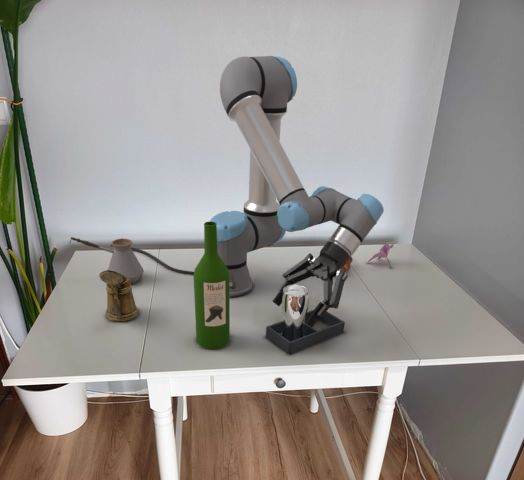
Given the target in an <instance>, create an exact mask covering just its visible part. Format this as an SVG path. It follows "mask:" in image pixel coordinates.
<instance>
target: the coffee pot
mask: <svg viewBox="0 0 524 480" xmlns="http://www.w3.org/2000/svg"><path fill="white" fill-rule="evenodd" d="M72 241H74V242H77V243H81V244H82V245H85V246H88V247H91V248H94V249H99V250H102V251H104V252H108V253H111V254H112V255H111V258H110V261H109V265H108V268H107V270H110V271H115V272H117V273H120V274H121V275H124V276H127V277H128V278H129V281H130V282H131V284H134V283H136V282H138V281H139V279H140V278H141V277H142V276H143V273H144V268H143V266H142V265H141V263H140V261H139V260H138V258H137V256H136V254H135V253H134V250H132V249H131V247H132V245H133V241H132V240H131V239H129V238H123V237H122V238H117V239H114V240H112V241H111V243H110V246H111V245H112V246H111V247H112V248H113V249H111V248H107V247H103V246H101V245H98V244H96V243H94V242H90V241H88V240H83V239H80V238H76V237H73V236H71V237H70V240H69V244H71V243H72Z"/></svg>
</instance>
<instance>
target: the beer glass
mask: <svg viewBox="0 0 524 480" xmlns="http://www.w3.org/2000/svg"><path fill="white" fill-rule="evenodd" d="M309 293H310V290H309V289H308V287H306V286H304V285H301V284H293V285H288V286H286V287H284V289H283V297H282V303H281V317H282V321H283V333H282V336H283V337H284V338H286V339H287V340H289V341H290V342H291V341H294V340H296V339H299V338H301V337H303V326H304V322H305V319H306V315H307V312H309V311H308V310H309V298H310V296H309V295H310V294H309Z"/></svg>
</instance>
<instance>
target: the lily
mask: <svg viewBox="0 0 524 480" xmlns="http://www.w3.org/2000/svg"><path fill="white" fill-rule="evenodd" d="M398 241H399V240H396V241H394V242H393V243H392V244H390V243H389V242H385V244H384V245H382V247H381V248H379V252H377V253H375V254H373V255H372V257H371V258H370V259H369V260H368V261H367V262H366V264H368V263H369V262H371V261H372V260H374V259H376V258H377V260H381V258H382V259H386V260H387V262H388V265H389V268H392V265H391V262H390V259H389V257H388V256H389V252H390V250H392V249H393V248H394V245H396V244H397V243H398Z"/></svg>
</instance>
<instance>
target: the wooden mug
mask: <svg viewBox="0 0 524 480" xmlns="http://www.w3.org/2000/svg"><path fill="white" fill-rule="evenodd" d="M98 277H99V278H100V280H101V281H102V282H103V283H104V284H106V285H105V289H106V310H105V311H106V318H107V319H108V320H109V321H111V322H112V321H113V322H121V323H123V322H128V321H132V320H134V319H135V318H137V317H138V315H139V312H138V307H137V305H136V301H135V298H134V294H133V286H132V283H131V282H130V281H129V278H128V277H127V276H124V275H121V274H120V273H117V272H115V271H110V270H108V269H107V270H103V271H101V272H99V274H98Z"/></svg>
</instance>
